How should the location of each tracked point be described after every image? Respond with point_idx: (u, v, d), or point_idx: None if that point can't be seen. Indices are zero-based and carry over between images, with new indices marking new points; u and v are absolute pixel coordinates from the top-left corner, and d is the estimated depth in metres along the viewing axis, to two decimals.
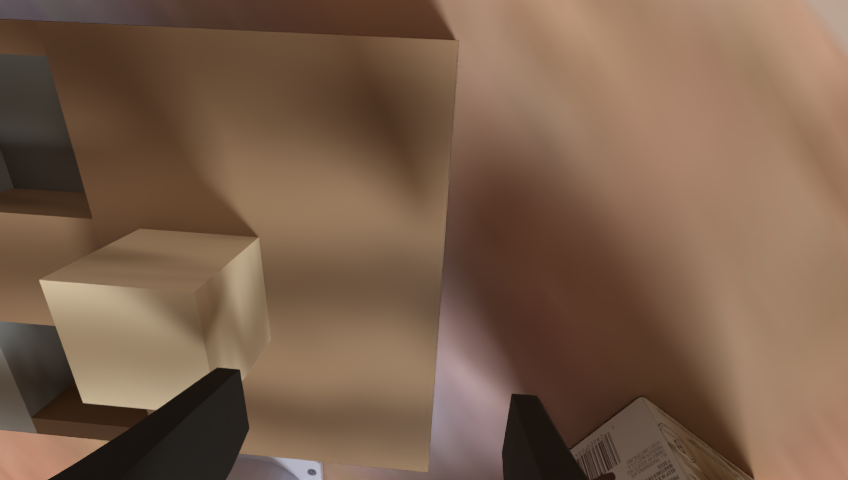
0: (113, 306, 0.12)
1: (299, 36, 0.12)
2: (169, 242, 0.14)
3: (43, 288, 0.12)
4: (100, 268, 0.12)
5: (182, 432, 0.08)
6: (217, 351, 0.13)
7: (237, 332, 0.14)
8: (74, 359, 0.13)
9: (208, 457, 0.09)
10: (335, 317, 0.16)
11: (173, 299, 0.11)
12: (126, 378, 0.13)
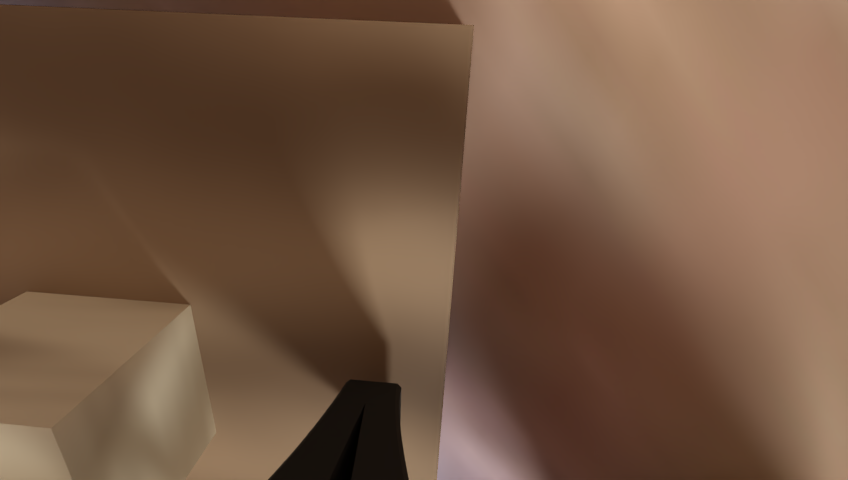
0: None
1: (228, 19, 0.08)
2: (57, 317, 0.10)
3: None
4: None
5: (348, 448, 0.08)
6: None
7: (152, 449, 0.10)
8: None
9: None
10: (301, 407, 0.12)
11: (21, 436, 0.07)
12: None
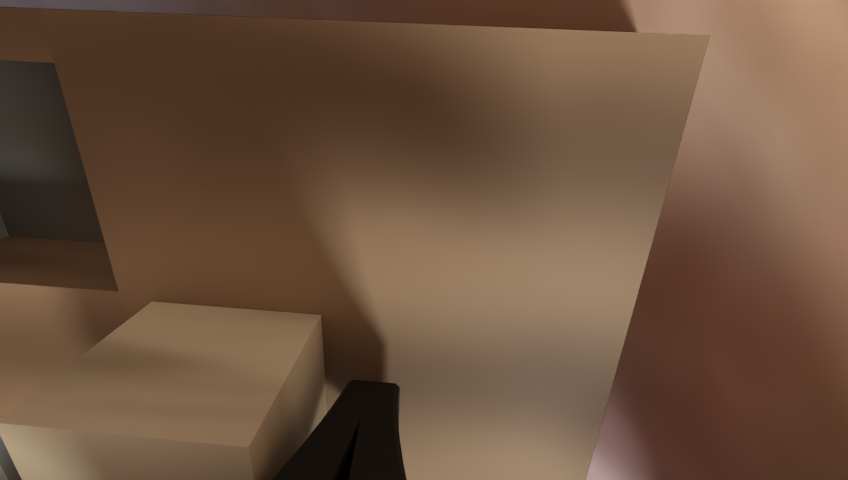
0: (115, 462, 0.07)
1: (450, 30, 0.08)
2: (195, 328, 0.10)
3: (2, 434, 0.07)
4: (94, 390, 0.08)
5: (350, 448, 0.08)
6: None
7: None
8: None
9: None
10: (453, 421, 0.12)
11: (213, 455, 0.07)
12: None
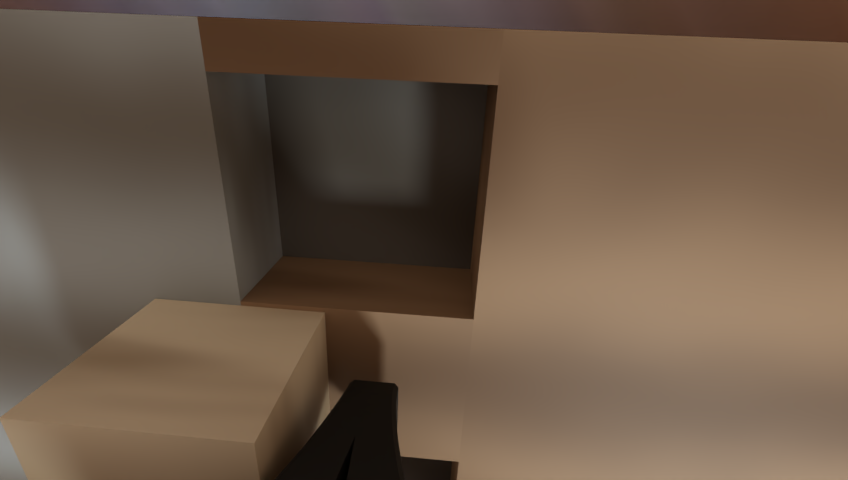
0: (119, 457, 0.07)
1: None
2: (199, 325, 0.10)
3: (6, 430, 0.07)
4: (99, 386, 0.08)
5: (353, 449, 0.08)
6: None
7: None
8: None
9: None
10: (793, 452, 0.11)
11: (218, 450, 0.07)
12: None
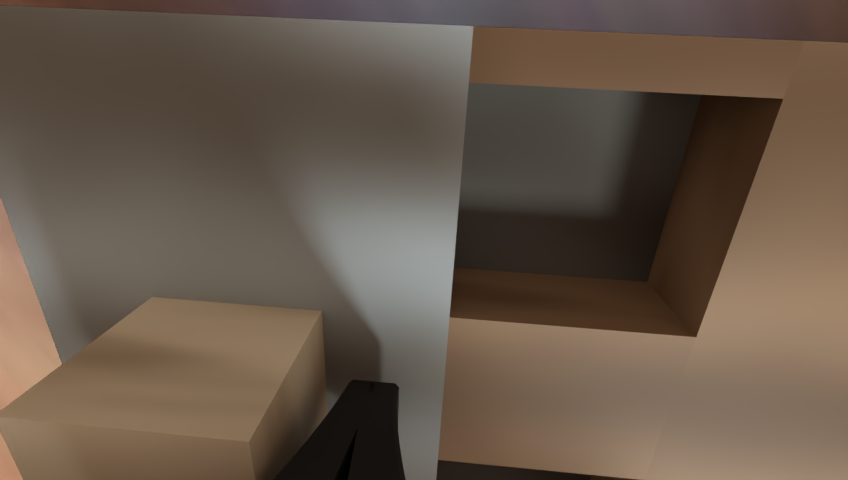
0: (114, 456, 0.07)
1: None
2: (195, 324, 0.10)
3: (1, 428, 0.07)
4: (94, 385, 0.08)
5: (352, 449, 0.08)
6: None
7: None
8: None
9: None
10: None
11: (213, 449, 0.07)
12: None
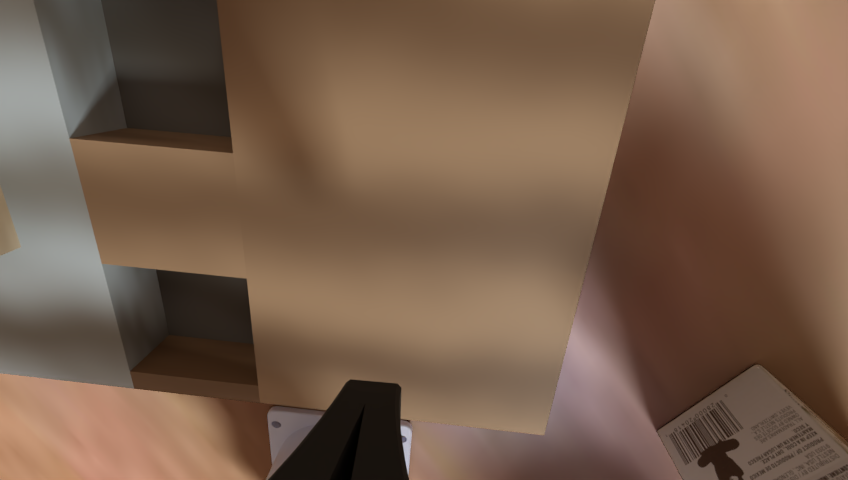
0: None
1: None
2: None
3: None
4: None
5: (348, 448, 0.08)
6: None
7: None
8: None
9: None
10: (476, 265, 0.15)
11: None
12: None
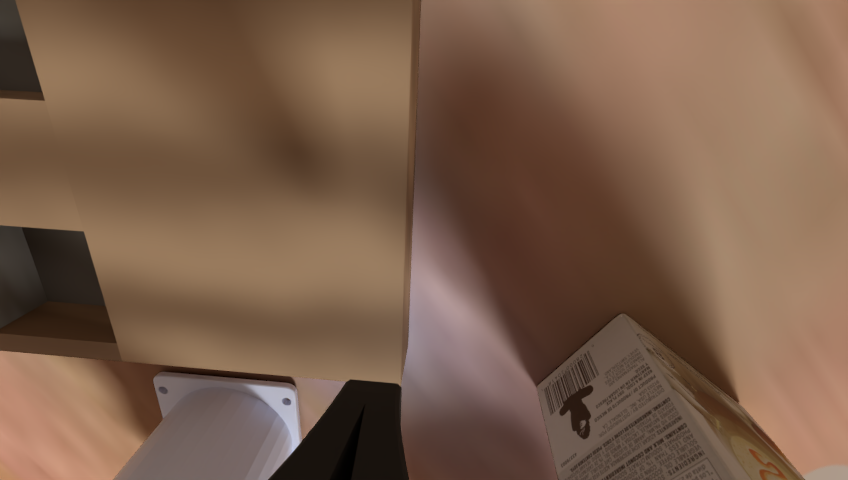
0: None
1: None
2: None
3: None
4: None
5: (348, 448, 0.08)
6: None
7: None
8: None
9: None
10: (299, 209, 0.16)
11: None
12: None
